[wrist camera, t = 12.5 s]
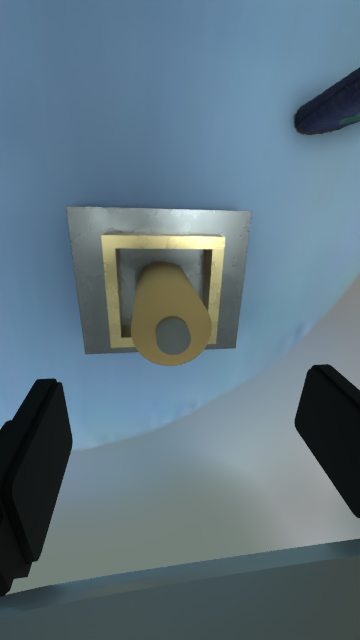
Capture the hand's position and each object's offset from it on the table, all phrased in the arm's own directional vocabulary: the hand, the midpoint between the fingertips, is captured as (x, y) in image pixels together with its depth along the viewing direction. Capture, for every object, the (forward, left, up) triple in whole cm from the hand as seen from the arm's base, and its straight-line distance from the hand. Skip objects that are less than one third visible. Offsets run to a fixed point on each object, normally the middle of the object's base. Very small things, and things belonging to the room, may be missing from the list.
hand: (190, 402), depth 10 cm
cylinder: (0, 0, -17) cm, 17 cm away
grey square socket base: (0, 0, -21) cm, 21 cm away
